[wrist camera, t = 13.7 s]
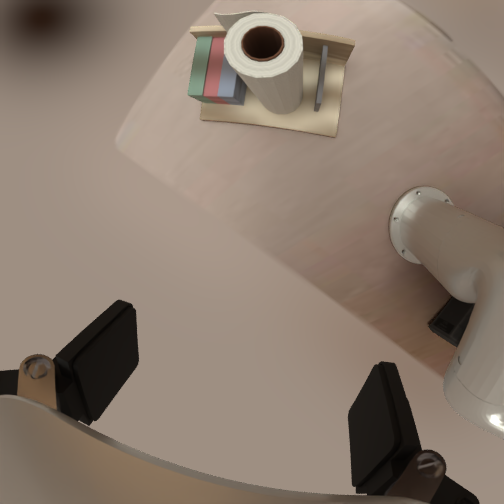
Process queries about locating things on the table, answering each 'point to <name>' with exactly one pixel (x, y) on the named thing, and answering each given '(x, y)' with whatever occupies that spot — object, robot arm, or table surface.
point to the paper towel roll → (266, 57)
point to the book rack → (244, 100)
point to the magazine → (452, 321)
